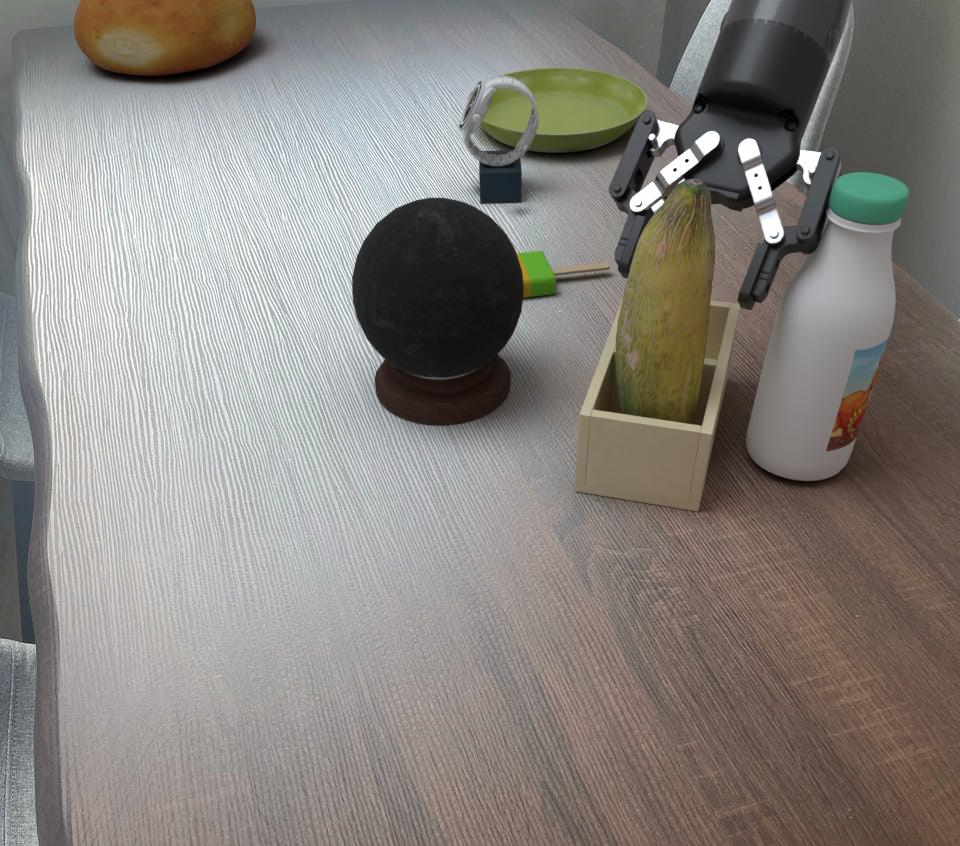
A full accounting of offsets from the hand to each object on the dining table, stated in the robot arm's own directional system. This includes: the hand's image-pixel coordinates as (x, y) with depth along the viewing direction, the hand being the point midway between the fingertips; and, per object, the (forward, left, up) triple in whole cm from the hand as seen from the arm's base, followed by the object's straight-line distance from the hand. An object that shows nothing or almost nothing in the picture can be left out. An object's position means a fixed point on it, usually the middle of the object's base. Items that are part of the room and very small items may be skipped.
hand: (683, 290), depth 68 cm
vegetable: (+1, +2, -12) cm, 13 cm away
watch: (+24, -40, -13) cm, 49 cm away
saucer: (+22, -58, -13) cm, 64 cm away
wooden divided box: (+1, -2, -13) cm, 14 cm away
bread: (+78, -70, -13) cm, 106 cm away
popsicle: (+16, -22, -13) cm, 30 cm away
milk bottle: (-10, -2, -13) cm, 17 cm away
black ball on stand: (+19, -4, -13) cm, 24 cm away
